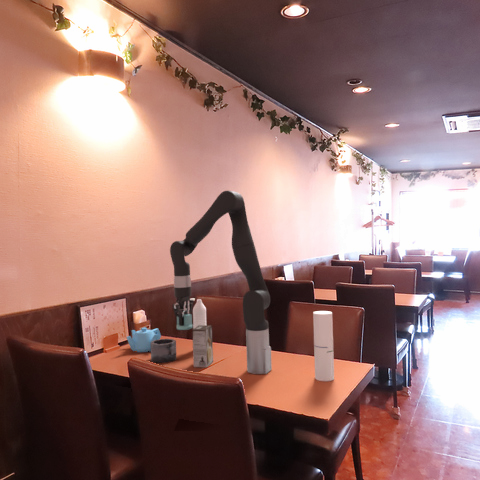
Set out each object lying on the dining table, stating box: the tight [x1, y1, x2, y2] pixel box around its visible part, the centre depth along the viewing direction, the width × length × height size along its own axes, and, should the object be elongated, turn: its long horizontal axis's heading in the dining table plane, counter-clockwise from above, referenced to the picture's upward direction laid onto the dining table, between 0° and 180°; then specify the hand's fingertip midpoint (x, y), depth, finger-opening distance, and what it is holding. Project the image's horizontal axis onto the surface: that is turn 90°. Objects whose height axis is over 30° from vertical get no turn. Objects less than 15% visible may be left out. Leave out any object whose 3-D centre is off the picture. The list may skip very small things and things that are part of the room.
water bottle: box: [190, 297, 208, 330], centre depth 206 cm, size 9×6×25 cm
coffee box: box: [191, 324, 214, 368], centre depth 183 cm, size 9×6×16 cm
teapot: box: [126, 326, 162, 353], centre depth 211 cm, size 15×15×11 cm
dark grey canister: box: [150, 338, 177, 364], centre depth 192 cm, size 11×11×8 cm
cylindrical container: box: [312, 310, 335, 382], centre depth 161 cm, size 7×7×25 cm
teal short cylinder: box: [176, 313, 193, 331], centre depth 187 cm, size 7×7×6 cm
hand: (184, 324), depth 187 cm, fingers closed on teal short cylinder, 3 cm apart
